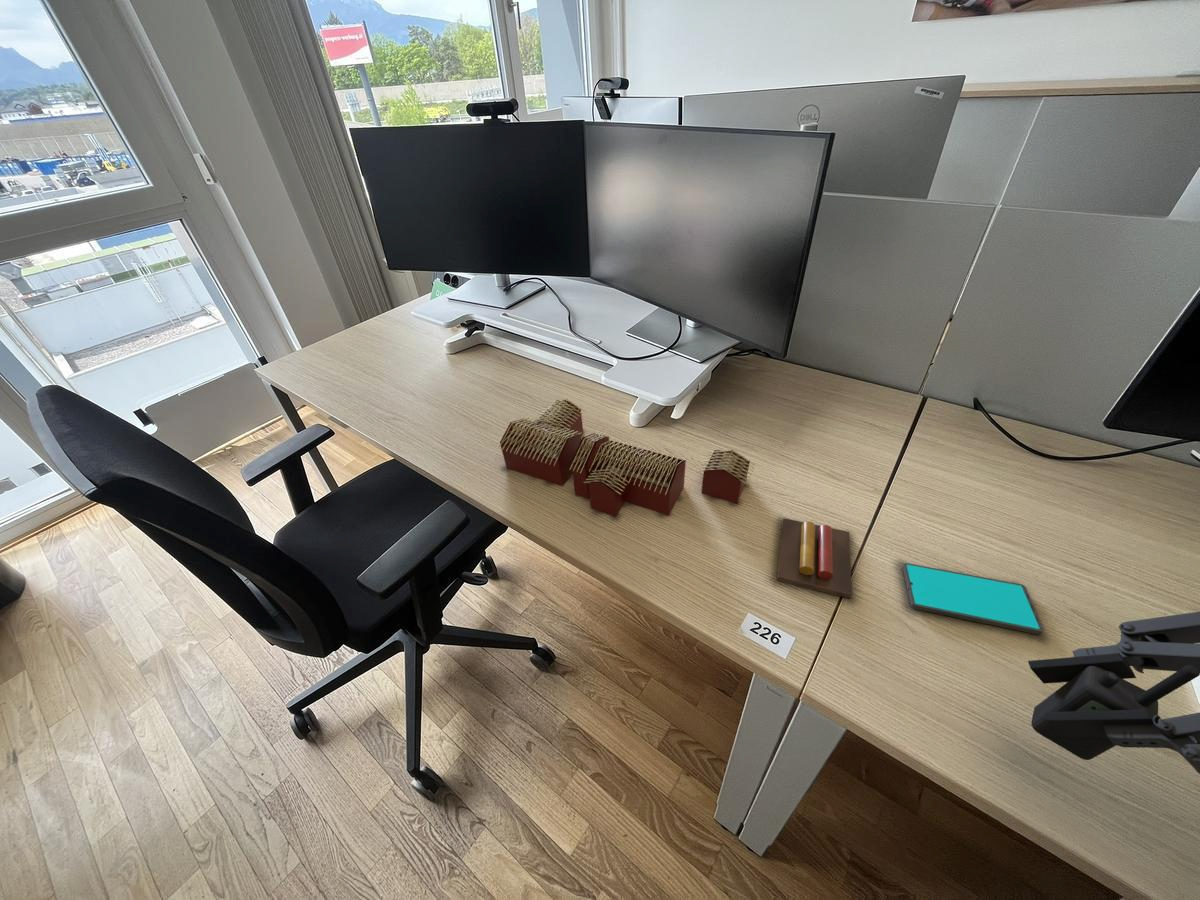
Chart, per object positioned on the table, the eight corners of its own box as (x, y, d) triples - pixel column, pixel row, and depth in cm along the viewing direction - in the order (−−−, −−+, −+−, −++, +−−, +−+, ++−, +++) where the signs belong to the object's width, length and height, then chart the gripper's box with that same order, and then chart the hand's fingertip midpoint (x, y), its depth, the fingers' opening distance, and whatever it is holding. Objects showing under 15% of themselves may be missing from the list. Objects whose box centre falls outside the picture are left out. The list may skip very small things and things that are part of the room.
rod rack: (847, 535, 74) (852, 523, 72) (850, 598, 66) (856, 587, 64) (782, 521, 77) (785, 509, 75) (776, 580, 69) (780, 568, 67)
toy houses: (498, 476, 90) (486, 436, 84) (553, 418, 104) (546, 380, 97) (725, 554, 73) (733, 511, 66) (755, 472, 86) (764, 430, 80)
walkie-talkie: (1028, 728, 46) (1130, 655, 36) (1034, 702, 48) (1133, 625, 38) (1092, 766, 43) (1221, 698, 34) (1096, 736, 45) (1219, 664, 35)
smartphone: (1045, 632, 59) (913, 604, 63) (1041, 635, 60) (911, 608, 64) (1024, 584, 65) (903, 562, 69) (1021, 587, 65) (901, 565, 69)
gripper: (1744, 888, 22) (1100, 825, 38) (1421, 592, 35) (1033, 636, 50) (1726, 815, 21) (1058, 780, 36) (1392, 530, 33) (999, 596, 48)
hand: (1044, 697), depth 43 cm, fingers closed on walkie-talkie, 4 cm apart
